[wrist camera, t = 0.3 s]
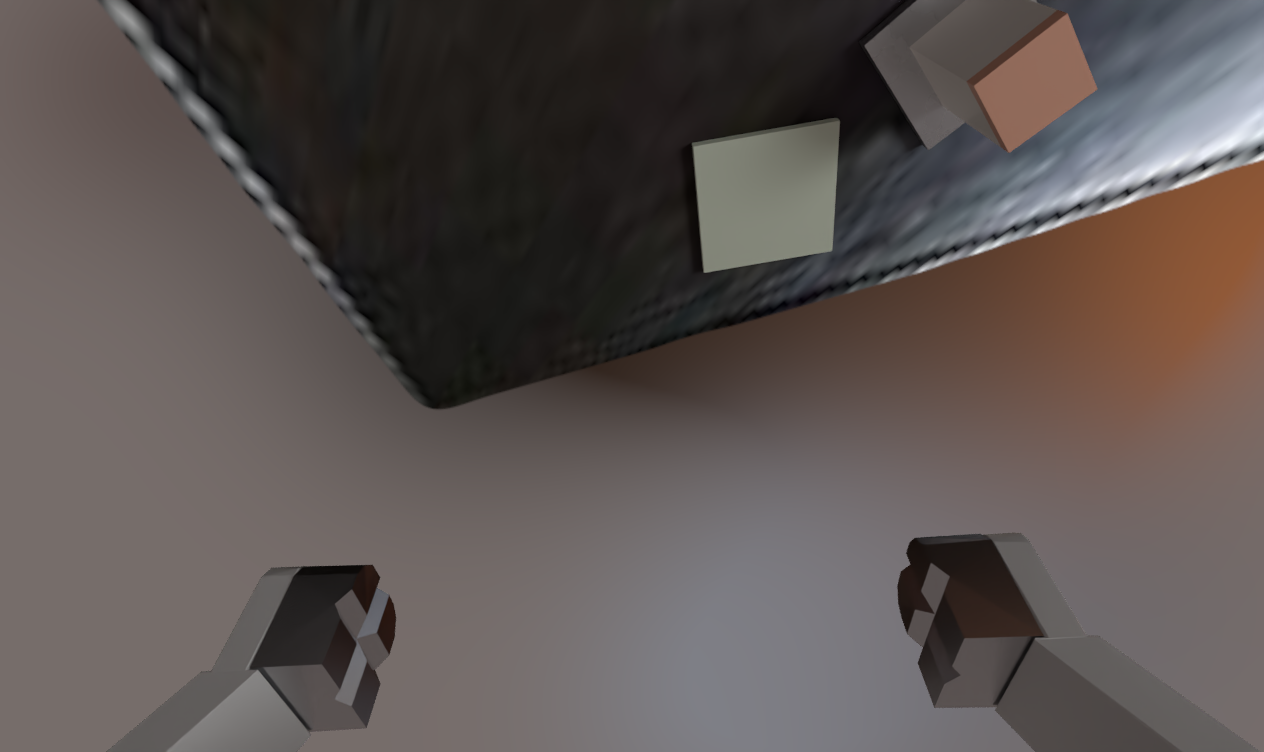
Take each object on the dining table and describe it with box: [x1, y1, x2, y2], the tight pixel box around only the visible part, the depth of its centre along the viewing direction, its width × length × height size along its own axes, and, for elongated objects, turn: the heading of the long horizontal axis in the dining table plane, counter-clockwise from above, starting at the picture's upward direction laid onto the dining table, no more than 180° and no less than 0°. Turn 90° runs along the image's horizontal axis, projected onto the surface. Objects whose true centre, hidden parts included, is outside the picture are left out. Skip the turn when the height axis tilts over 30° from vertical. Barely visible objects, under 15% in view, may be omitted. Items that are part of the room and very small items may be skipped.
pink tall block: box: [910, 0, 1097, 153], centre depth 46 cm, size 6×6×10 cm
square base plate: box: [859, 0, 1037, 150], centre depth 48 cm, size 11×11×6 cm
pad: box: [692, 117, 840, 273], centre depth 57 cm, size 12×12×1 cm
